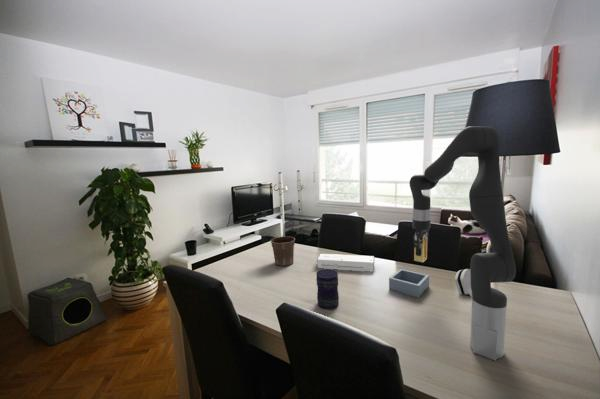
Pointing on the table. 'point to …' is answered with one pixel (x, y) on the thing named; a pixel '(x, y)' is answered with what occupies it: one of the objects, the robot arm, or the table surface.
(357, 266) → the laminator
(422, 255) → the bracket
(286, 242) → the plant pot
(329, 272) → the storage jar
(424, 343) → the table surface
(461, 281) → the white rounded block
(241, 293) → the table surface
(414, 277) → the box
